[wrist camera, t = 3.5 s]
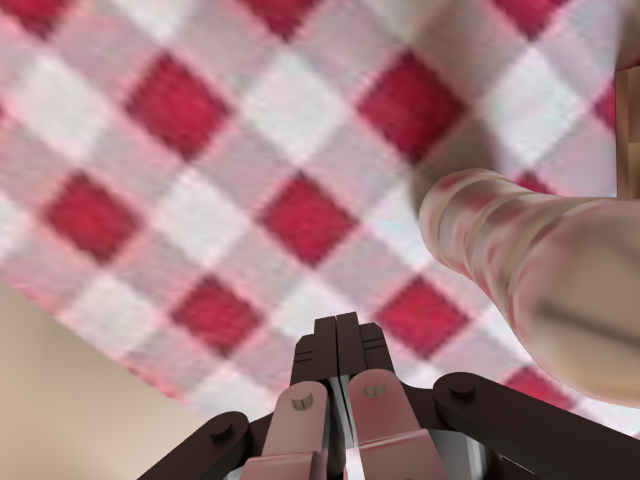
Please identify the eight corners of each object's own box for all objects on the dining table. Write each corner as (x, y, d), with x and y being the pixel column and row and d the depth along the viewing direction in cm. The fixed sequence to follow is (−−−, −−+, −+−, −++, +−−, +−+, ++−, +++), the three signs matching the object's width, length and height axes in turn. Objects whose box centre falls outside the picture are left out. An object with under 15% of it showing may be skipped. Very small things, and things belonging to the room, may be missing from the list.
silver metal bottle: (498, 156, 24) (1145, 197, 5) (507, 249, 26) (1021, 545, 7) (404, 177, 25) (673, 285, 6) (418, 267, 27) (665, 591, 7)
